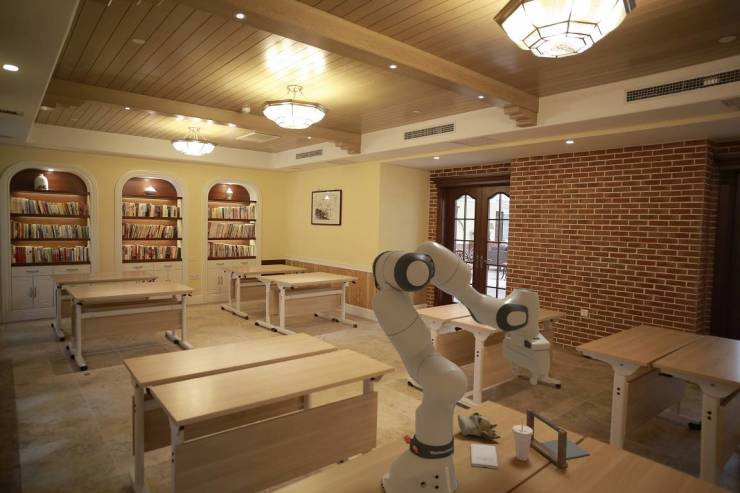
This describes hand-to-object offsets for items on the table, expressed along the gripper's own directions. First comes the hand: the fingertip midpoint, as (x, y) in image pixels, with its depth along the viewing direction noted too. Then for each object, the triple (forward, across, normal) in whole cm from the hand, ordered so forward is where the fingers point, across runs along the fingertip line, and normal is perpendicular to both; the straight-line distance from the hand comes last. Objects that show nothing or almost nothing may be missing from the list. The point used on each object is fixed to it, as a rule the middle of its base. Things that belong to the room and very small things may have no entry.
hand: (523, 378), depth 146 cm
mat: (+27, 0, +17) cm, 32 cm away
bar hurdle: (+27, 0, +9) cm, 28 cm away
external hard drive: (+27, -4, -12) cm, 30 cm away
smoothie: (+27, 0, 0) cm, 27 cm away
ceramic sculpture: (+27, -18, -6) cm, 33 cm away
